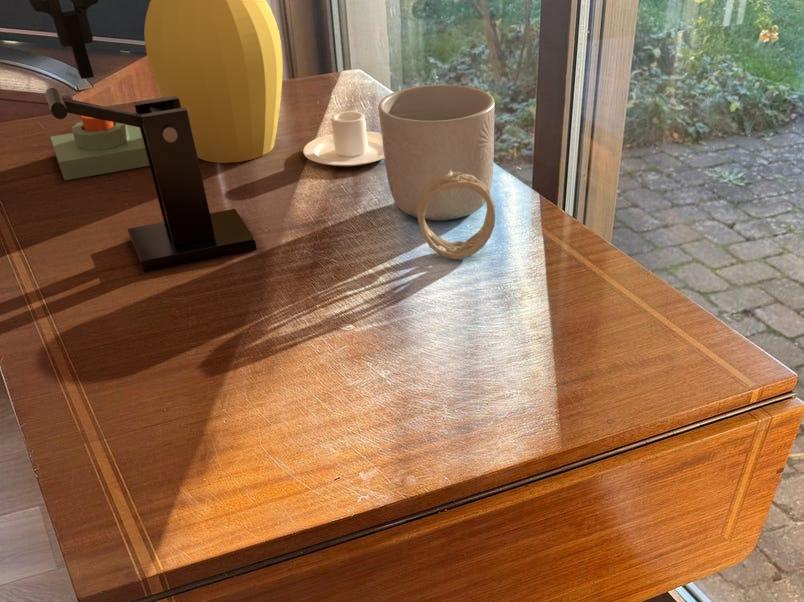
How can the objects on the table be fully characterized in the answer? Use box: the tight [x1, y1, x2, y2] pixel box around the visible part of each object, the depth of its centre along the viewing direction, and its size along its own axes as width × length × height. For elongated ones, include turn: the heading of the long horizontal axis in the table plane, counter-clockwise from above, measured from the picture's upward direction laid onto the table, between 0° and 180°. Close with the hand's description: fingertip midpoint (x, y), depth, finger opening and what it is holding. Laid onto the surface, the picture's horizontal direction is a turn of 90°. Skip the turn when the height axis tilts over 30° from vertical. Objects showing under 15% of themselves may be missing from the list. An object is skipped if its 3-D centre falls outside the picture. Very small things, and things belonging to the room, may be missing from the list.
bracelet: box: [416, 171, 496, 260], centre depth 100 cm, size 4×8×8 cm, turn 96°
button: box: [80, 115, 114, 132], centre depth 122 cm, size 4×4×2 cm
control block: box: [49, 121, 150, 181], centre depth 124 cm, size 12×10×4 cm
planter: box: [377, 84, 496, 221], centre depth 108 cm, size 12×12×11 cm
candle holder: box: [302, 110, 385, 167], centre depth 123 cm, size 12×12×4 cm
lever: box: [44, 87, 165, 128], centre depth 96 cm, size 12×5×2 cm, turn 113°
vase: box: [143, 0, 283, 164], centre depth 117 cm, size 16×16×28 cm
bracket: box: [126, 96, 258, 273], centre depth 102 cm, size 12×9×14 cm
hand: (86, 74), depth 119 cm, fingers closed
